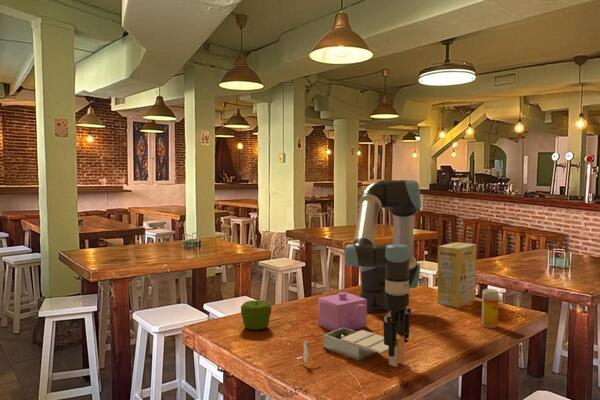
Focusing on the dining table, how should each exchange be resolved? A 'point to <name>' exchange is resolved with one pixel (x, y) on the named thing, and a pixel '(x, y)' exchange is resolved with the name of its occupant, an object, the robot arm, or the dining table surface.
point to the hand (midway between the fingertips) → (396, 363)
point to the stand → (306, 351)
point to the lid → (375, 343)
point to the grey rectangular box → (344, 344)
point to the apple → (256, 314)
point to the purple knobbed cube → (342, 311)
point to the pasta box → (456, 274)
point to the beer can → (490, 308)
